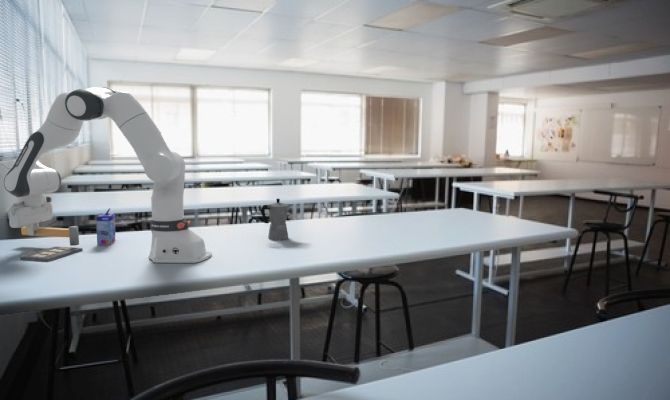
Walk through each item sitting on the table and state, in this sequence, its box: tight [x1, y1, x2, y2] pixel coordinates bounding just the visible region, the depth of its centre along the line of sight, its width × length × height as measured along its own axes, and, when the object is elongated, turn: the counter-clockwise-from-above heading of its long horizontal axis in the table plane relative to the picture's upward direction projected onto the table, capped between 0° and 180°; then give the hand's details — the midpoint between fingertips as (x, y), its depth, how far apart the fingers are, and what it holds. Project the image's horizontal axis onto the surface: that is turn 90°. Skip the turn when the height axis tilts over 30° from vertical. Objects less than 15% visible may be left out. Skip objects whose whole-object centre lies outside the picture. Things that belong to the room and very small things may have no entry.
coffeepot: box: [260, 198, 292, 241], centre depth 198 cm, size 15×9×18 cm, turn 129°
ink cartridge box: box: [95, 208, 116, 246], centre depth 186 cm, size 10×6×14 cm, turn 15°
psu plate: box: [19, 246, 84, 262], centre depth 166 cm, size 12×16×1 cm
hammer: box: [20, 225, 80, 247], centre depth 178 cm, size 3×25×7 cm, turn 79°
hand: (33, 234), depth 176 cm, fingers closed
